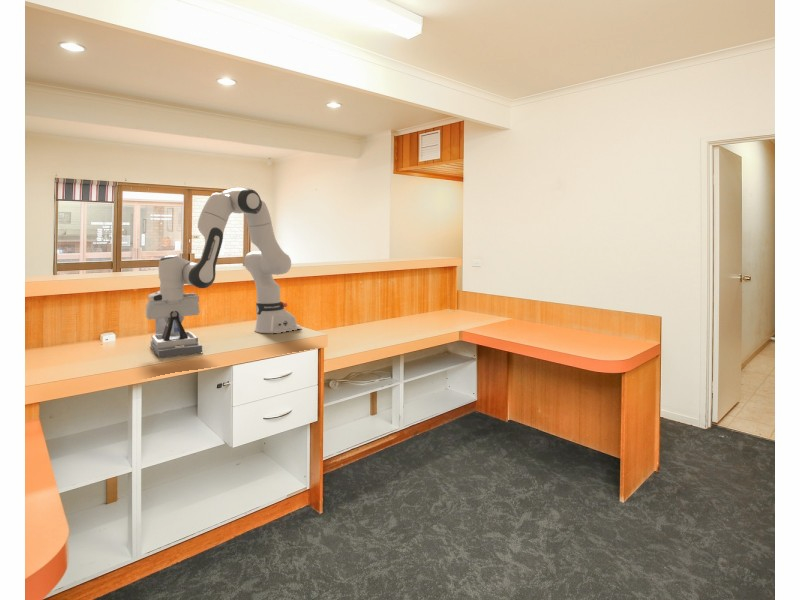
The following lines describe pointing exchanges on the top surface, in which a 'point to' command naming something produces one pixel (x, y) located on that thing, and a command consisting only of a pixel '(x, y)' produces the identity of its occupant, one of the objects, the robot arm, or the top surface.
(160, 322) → the ink cartridge box
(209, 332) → the top surface
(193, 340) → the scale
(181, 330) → the black mini tripod
